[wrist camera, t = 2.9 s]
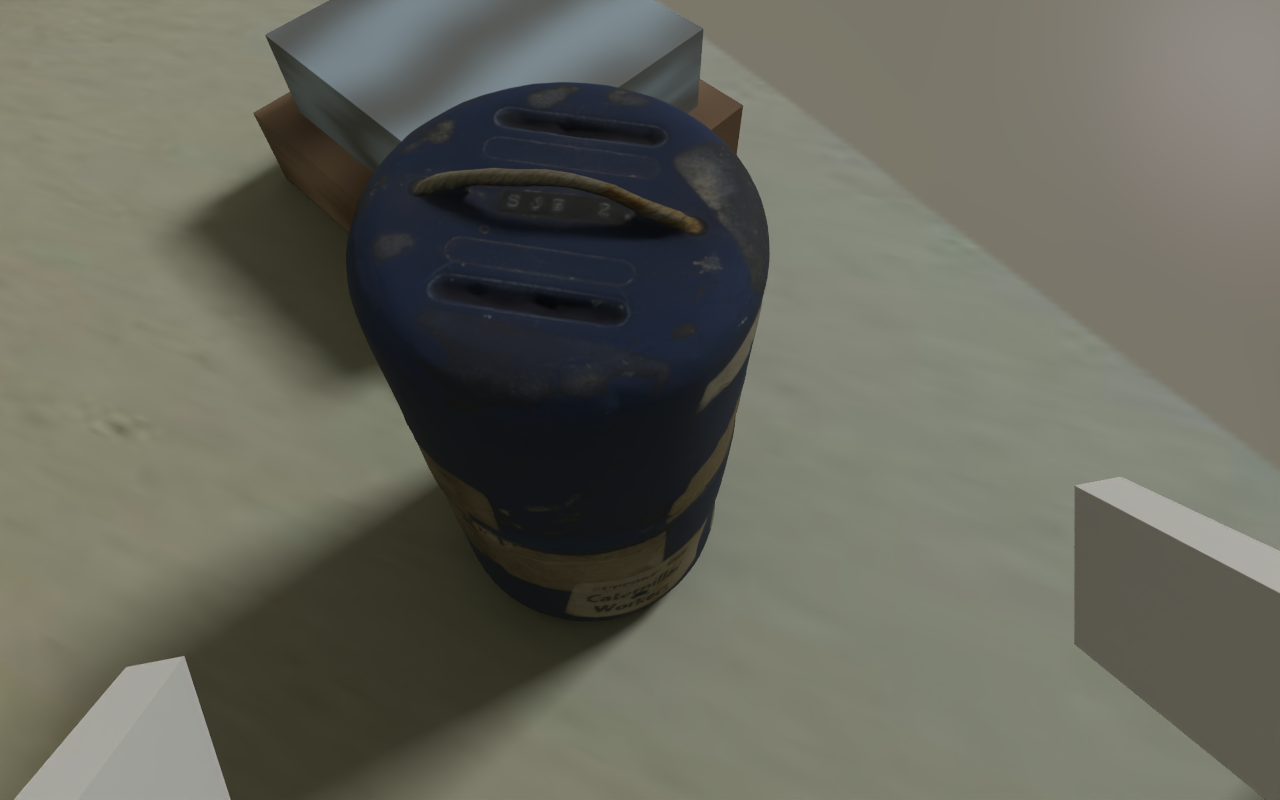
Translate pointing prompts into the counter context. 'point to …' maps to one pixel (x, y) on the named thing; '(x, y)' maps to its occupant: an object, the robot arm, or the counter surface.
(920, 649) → the counter surface
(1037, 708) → the counter surface
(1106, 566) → the robot arm
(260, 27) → the counter surface
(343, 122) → the metal-topped wooden base
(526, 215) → the canister
